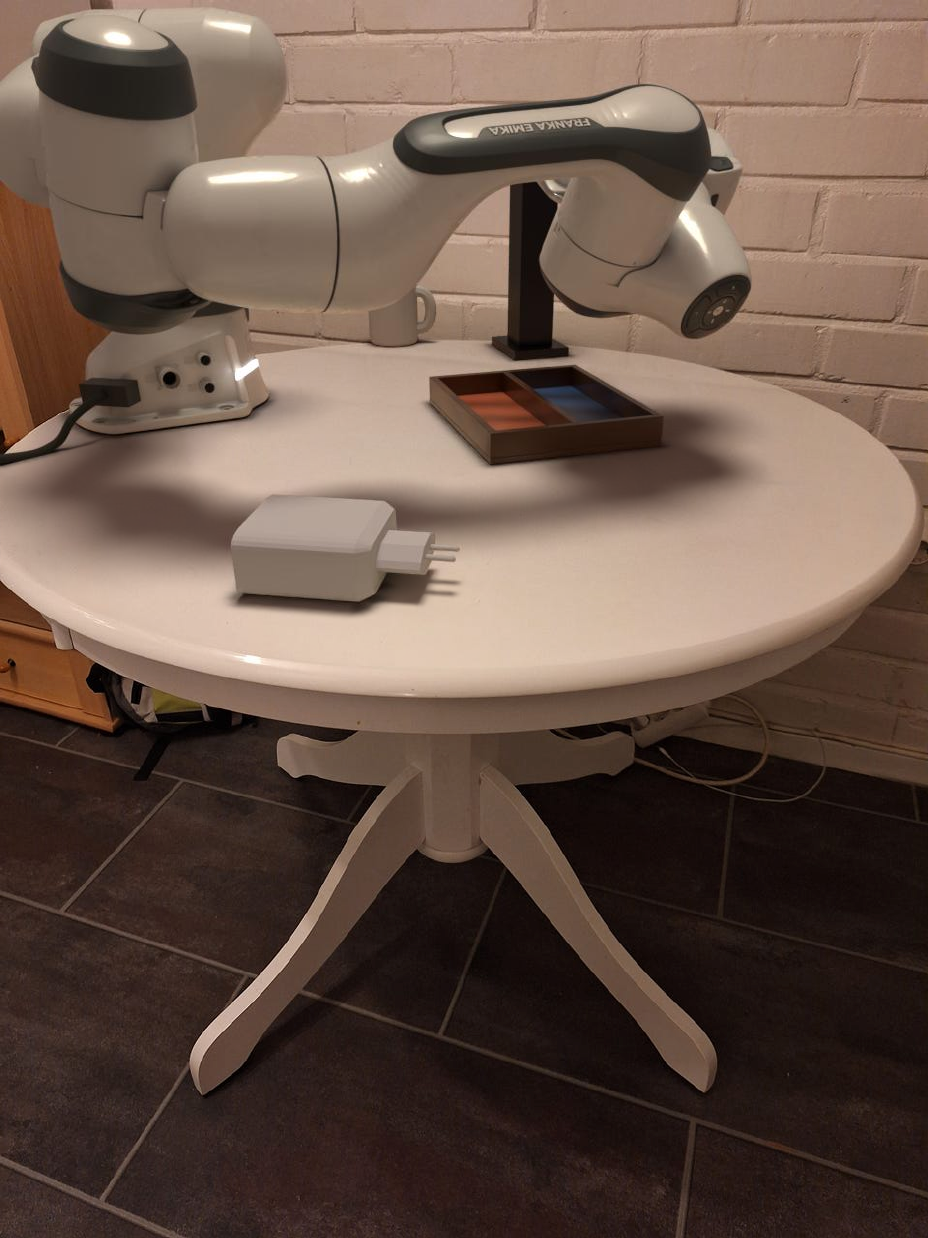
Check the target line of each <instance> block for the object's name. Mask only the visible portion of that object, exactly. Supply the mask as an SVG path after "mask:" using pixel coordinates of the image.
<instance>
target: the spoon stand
mask: <svg viewBox="0 0 928 1238" xmlns="http://www.w3.org/2000/svg"><path fill="white" fill-rule="evenodd" d="M558 207H559V203H557V202H555V201H553V200H552V199H551V198H550V197H549V196H548V195H547V194H546V193H545V192H544V191H543V189H542V188H541V187H540V185H539V184H538V183H537V182H528V183H519V184H514V185H510V186H509V214H508V215H509V217H508V218H509V219H508V221H509V222H508V274H507V275H508V276H507V277H508V279H507V282H508V283H507V334H506V335H497V336H495V335H494V336H492V337H491V346H493V347H494V348H496V349H497V350H499V351H501V352H502V353H503V354H505V355H506V356H507V357H509V358H511V359H512V360H514V361H524V360H535V359H549V358H560V357H561V358H562V357H569V355H570V347H569V346H567V345H565V344H564V343H562V342H560V341H558V340H556V339H555V338H554V337H553V333H554V332H553V331H554V310H555V309H554V308H555V307H554V306H555V294H554V293H553V292H552V291H551V289H550V288H549V286H548V285H547V283H546V281H545V279H544V277H543V275H542V272H541V269H540V265H539V256H540V253H541V251H542V248H543V245H544V242H545V240H546V237H547V235H548V232H549V229H550V227H551V224H552V222H553V219H554V217H555V214H556V212H557V209H558Z"/></svg>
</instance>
